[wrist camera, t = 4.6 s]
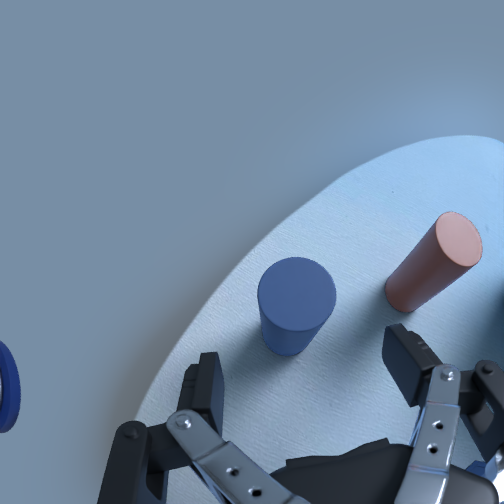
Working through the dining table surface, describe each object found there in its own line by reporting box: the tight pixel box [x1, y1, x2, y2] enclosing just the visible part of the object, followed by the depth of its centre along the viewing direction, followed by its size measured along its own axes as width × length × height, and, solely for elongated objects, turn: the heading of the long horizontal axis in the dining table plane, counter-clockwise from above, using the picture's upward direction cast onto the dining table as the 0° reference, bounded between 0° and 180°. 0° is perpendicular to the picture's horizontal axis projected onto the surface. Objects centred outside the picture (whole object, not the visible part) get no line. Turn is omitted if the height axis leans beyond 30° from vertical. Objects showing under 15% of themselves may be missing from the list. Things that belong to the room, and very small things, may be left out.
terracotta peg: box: [385, 212, 482, 312], centre depth 18 cm, size 4×4×9 cm
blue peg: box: [257, 257, 336, 356], centre depth 17 cm, size 4×4×9 cm
